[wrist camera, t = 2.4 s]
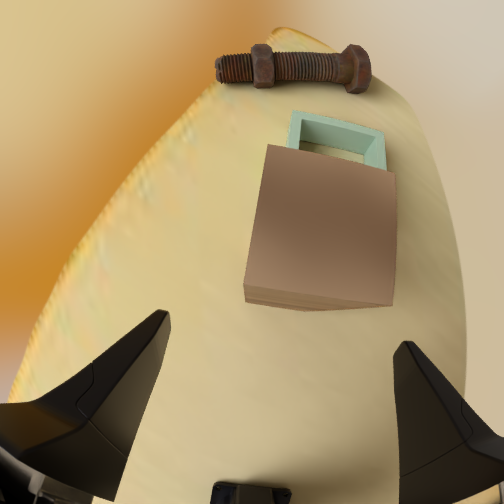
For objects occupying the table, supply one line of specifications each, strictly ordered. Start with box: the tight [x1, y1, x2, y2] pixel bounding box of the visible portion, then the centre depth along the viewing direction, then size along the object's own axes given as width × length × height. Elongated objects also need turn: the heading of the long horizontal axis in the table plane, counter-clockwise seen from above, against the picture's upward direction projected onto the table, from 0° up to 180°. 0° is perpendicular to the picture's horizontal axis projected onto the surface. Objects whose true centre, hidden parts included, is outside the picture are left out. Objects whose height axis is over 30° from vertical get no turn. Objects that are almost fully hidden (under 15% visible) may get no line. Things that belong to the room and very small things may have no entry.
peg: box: [243, 144, 397, 311], centre depth 14 cm, size 4×4×13 cm
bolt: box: [215, 44, 371, 94], centre depth 23 cm, size 6×5×15 cm
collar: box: [286, 110, 387, 171], centre depth 21 cm, size 8×8×3 cm
